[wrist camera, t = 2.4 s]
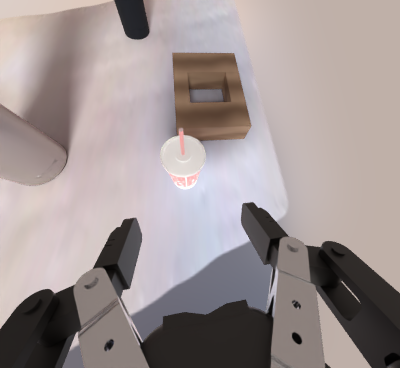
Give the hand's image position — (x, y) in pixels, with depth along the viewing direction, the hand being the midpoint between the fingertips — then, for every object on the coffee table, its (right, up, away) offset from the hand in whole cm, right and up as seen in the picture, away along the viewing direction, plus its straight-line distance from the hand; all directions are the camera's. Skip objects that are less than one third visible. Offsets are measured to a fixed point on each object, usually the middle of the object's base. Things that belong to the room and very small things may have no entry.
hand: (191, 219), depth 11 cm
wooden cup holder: (+2, +21, +23) cm, 31 cm away
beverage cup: (-2, +4, +17) cm, 18 cm away
